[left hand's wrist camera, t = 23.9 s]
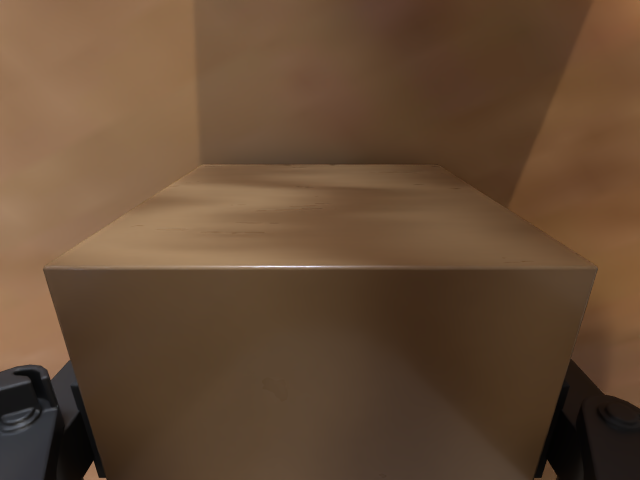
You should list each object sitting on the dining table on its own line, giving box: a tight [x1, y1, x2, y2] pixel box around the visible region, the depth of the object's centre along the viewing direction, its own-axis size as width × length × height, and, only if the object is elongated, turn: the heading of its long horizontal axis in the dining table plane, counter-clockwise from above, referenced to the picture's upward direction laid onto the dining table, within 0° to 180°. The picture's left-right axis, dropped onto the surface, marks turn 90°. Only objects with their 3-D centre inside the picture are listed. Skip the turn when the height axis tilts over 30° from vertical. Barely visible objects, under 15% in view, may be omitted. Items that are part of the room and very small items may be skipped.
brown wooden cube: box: [43, 164, 597, 480], centre depth 11 cm, size 9×9×9 cm
